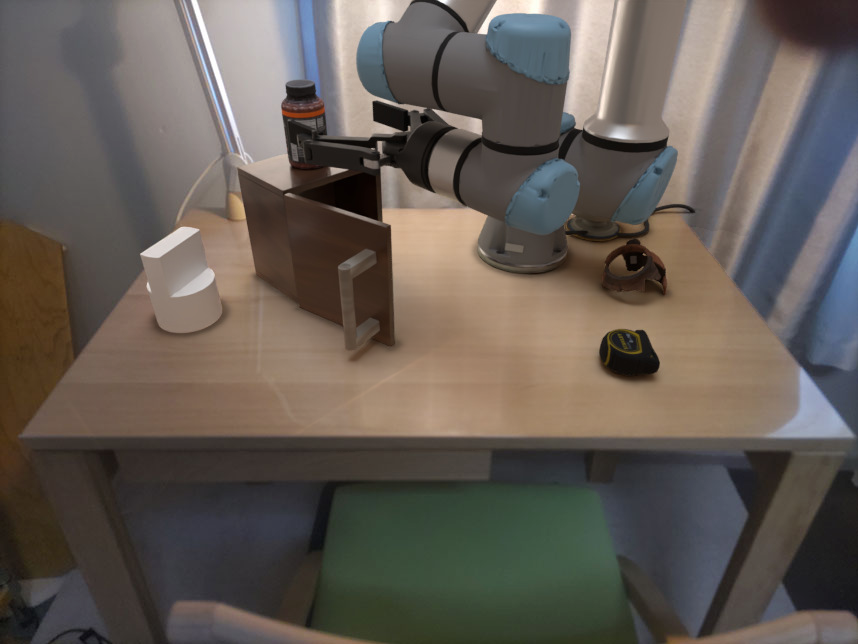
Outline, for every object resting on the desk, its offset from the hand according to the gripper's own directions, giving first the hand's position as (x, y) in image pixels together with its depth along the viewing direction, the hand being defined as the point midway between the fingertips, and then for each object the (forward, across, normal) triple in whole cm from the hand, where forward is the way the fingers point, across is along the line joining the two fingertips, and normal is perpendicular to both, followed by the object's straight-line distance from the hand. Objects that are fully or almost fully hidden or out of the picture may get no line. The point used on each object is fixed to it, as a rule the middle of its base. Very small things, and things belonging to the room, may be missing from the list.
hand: (334, 120), depth 80 cm
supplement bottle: (+7, 0, -8) cm, 10 cm away
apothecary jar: (-15, +45, -26) cm, 54 cm away
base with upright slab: (+9, -22, -26) cm, 35 cm away
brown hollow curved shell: (-31, +33, -26) cm, 52 cm away
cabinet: (+7, 0, -26) cm, 27 cm away
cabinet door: (-9, -10, -26) cm, 29 cm away
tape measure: (-41, +15, -26) cm, 51 cm away
